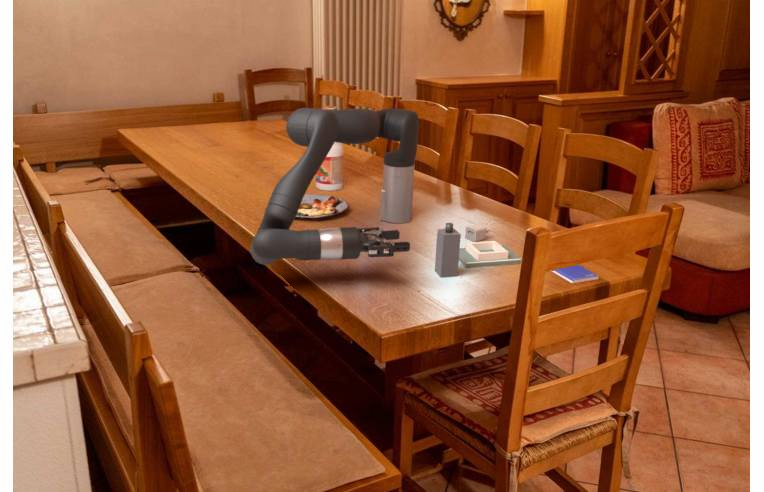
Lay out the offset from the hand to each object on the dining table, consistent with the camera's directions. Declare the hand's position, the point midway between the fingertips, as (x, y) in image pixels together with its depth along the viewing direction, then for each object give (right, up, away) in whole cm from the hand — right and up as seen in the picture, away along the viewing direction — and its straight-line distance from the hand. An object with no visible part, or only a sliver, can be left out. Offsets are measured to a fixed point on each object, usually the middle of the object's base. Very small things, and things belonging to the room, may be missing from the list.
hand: (404, 240), depth 165 cm
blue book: (+42, -9, +11) cm, 45 cm away
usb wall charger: (+22, +1, +32) cm, 39 cm away
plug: (+11, -8, +7) cm, 15 cm away
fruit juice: (-24, +19, +76) cm, 82 cm away
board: (+22, -4, +18) cm, 29 cm away
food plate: (-28, +9, +51) cm, 59 cm away
